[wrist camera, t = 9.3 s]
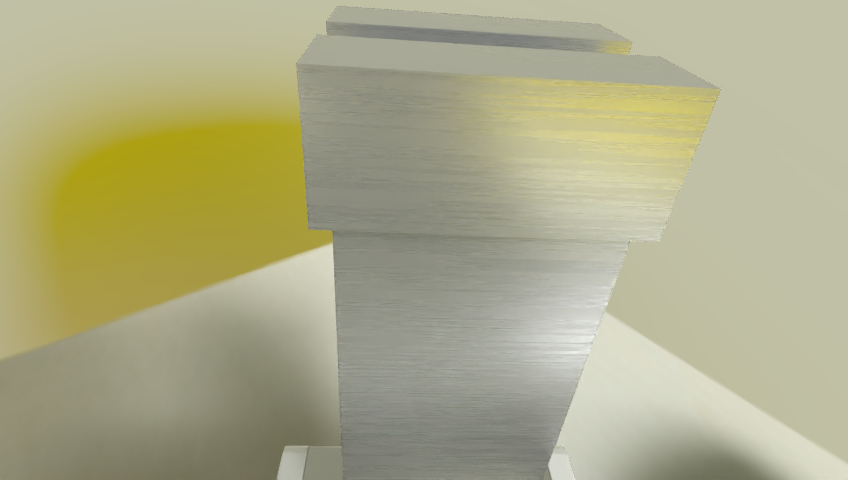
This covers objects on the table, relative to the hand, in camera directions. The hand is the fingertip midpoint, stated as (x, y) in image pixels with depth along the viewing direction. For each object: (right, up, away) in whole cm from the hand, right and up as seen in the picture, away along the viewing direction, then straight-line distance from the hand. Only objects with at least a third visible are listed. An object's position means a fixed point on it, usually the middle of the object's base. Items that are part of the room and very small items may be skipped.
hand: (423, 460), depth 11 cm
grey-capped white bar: (-1, -9, +5) cm, 10 cm away
